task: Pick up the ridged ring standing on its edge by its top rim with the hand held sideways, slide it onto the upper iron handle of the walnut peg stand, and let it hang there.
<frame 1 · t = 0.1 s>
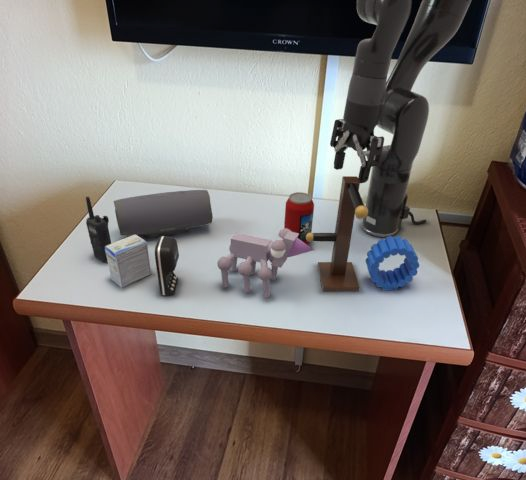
hand: (349, 175, 115), 17 cm above the table, tool pointing down, fingers open, 8 cm apart
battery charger: (171, 288, 110), on the table
medicine box: (131, 278, 113), on the table
bluetooth speaker: (166, 232, 128), on the table
beverage can: (296, 243, 126), on the table
two-way radio: (106, 257, 119), on the table
toy sheep: (265, 287, 112), on the table
hook stand: (336, 276, 115), on the table
ridged ring: (387, 283, 113), on the table
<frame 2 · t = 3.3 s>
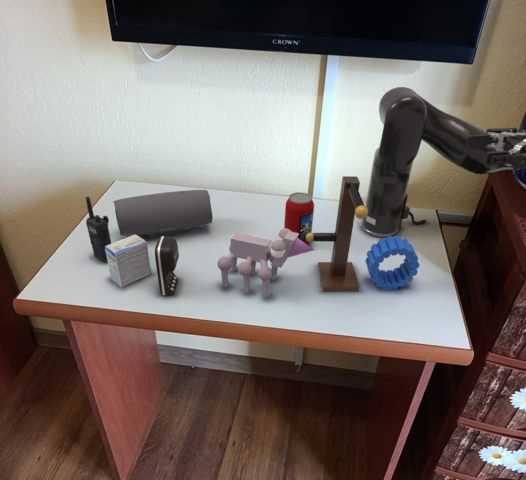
hand: (476, 150, 94), 30 cm above the table, tool horizontal, fingers open, 8 cm apart
nothing on the table moved.
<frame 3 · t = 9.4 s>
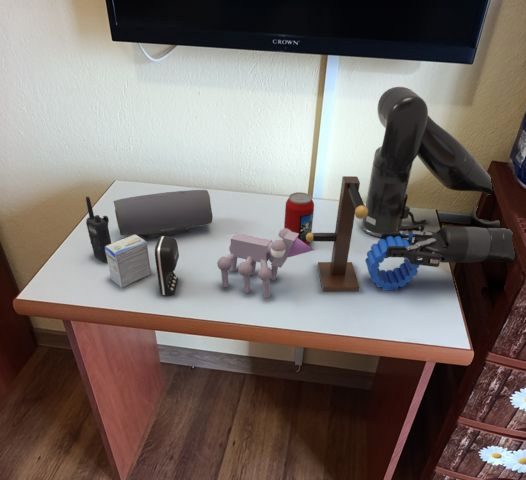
hand: (384, 244, 107), 10 cm above the table, tool horizontal, fingers closed on ridged ring, 5 cm apart
ridged ring: (387, 283, 113), on the table, touching gripper
everything else where it was.
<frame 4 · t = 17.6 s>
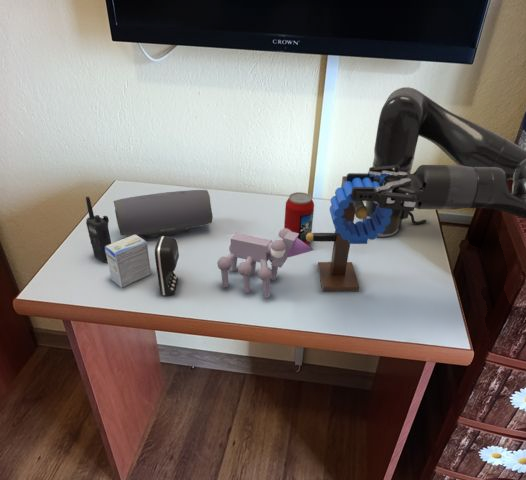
hand: (349, 186, 89), 27 cm above the table, tool horizontal, fingers closed on ridged ring, 5 cm apart
ridged ring: (355, 237, 96), point 17 cm above the table, touching gripper
everything else where it was.
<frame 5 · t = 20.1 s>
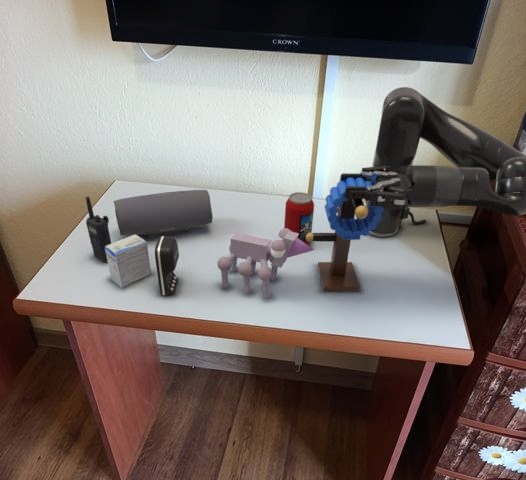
hand: (343, 186, 95), 24 cm above the table, tool horizontal, fingers closed on ridged ring, 5 cm apart
ridged ring: (349, 233, 102), point 14 cm above the table, touching gripper
everything else where it was.
when the fingers open (25 cm above the table, at t = 26.0 s): ridged ring stays where it is, resting on hook stand.
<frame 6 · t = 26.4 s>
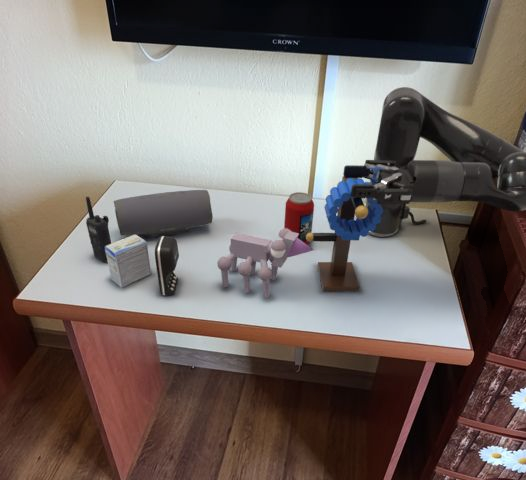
hand: (347, 180, 94), 25 cm above the table, tool horizontal, fingers open, 8 cm apart
ridged ring: (348, 234, 102), point 14 cm above the table, touching hook stand
everything else where it was.
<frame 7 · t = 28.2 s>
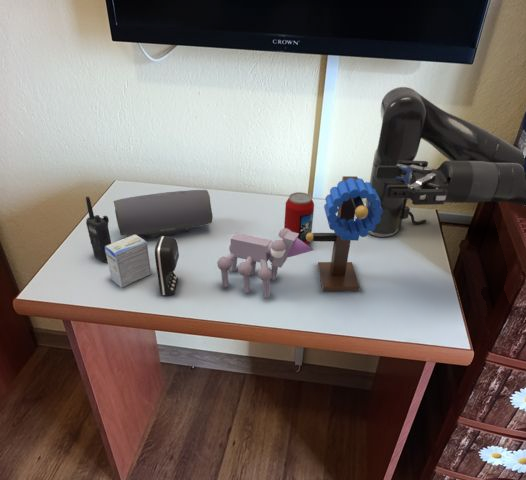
hand: (381, 181, 94), 25 cm above the table, tool horizontal, fingers open, 8 cm apart
nothing on the table moved.
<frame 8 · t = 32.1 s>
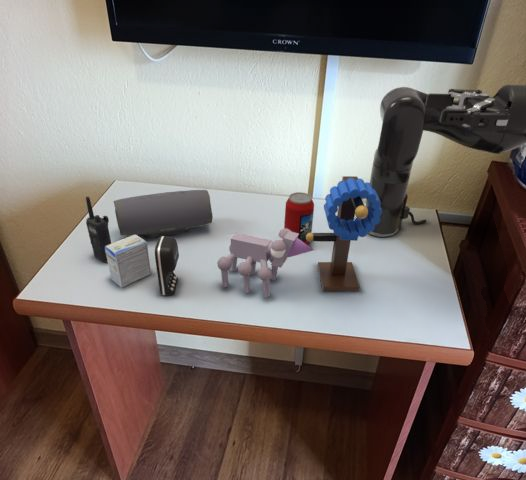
hand: (433, 108, 86), 38 cm above the table, tool horizontal, fingers open, 8 cm apart
nothing on the table moved.
at the end: ridged ring inside the target area on the hook stand (1.7 cm from its centre), point 13.9 cm above the hook stand's base; ridged ring touching hook stand; the gripper is holding nothing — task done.
